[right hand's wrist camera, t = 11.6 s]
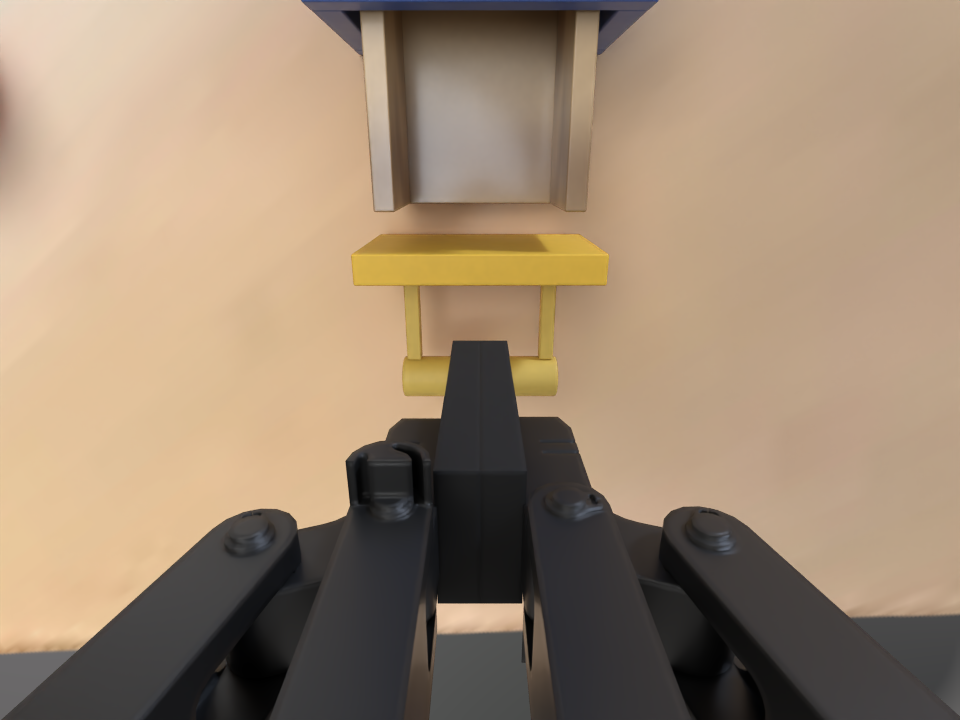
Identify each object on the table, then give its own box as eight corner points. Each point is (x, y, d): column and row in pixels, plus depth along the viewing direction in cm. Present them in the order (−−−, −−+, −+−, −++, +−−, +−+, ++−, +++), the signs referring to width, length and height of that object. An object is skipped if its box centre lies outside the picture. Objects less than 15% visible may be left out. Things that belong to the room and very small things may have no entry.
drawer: (571, 363, 28) (595, 414, 22) (388, 363, 28) (364, 414, 22) (614, -287, 19) (673, -487, 13) (344, -287, 19) (285, -486, 13)
